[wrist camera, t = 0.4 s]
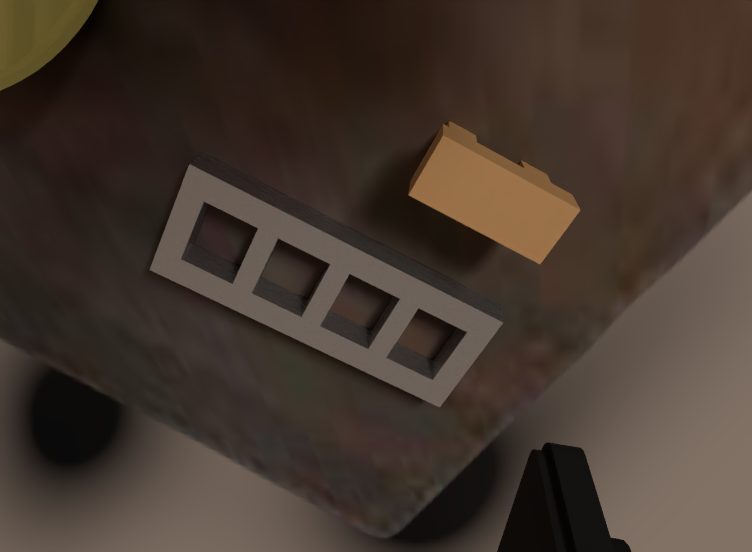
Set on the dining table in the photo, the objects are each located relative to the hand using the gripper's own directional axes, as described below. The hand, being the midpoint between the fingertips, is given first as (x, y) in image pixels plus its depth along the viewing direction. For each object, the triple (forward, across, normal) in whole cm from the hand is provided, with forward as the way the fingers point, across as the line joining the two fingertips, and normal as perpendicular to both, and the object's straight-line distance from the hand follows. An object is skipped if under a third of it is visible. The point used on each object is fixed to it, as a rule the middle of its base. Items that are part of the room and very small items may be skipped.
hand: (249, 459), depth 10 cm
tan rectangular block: (+33, -7, +4) cm, 34 cm away
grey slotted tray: (+33, +2, +14) cm, 36 cm away
